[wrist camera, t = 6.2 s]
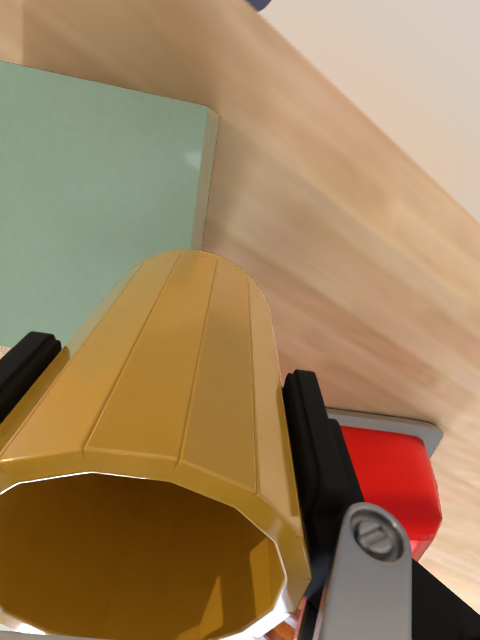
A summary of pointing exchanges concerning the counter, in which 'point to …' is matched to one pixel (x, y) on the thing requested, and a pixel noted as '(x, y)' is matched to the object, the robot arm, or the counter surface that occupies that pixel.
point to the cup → (156, 468)
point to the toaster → (389, 479)
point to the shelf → (91, 192)
